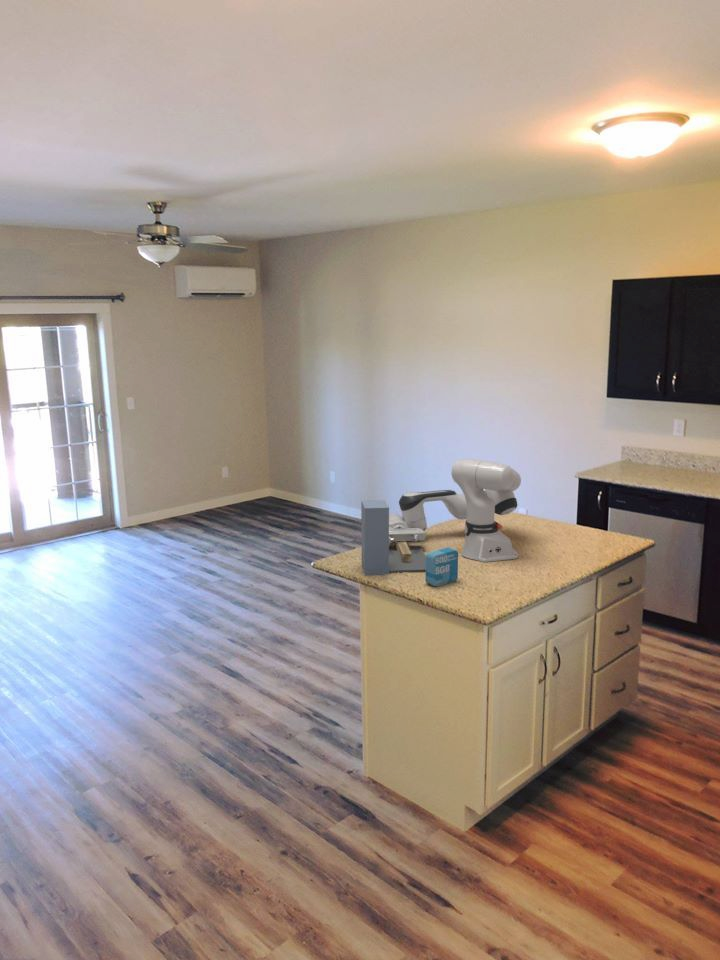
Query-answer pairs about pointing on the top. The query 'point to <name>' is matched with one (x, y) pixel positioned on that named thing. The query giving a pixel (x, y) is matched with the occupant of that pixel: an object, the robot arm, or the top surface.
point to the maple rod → (403, 551)
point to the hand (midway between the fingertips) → (403, 540)
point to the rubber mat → (414, 566)
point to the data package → (441, 566)
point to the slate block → (375, 537)
